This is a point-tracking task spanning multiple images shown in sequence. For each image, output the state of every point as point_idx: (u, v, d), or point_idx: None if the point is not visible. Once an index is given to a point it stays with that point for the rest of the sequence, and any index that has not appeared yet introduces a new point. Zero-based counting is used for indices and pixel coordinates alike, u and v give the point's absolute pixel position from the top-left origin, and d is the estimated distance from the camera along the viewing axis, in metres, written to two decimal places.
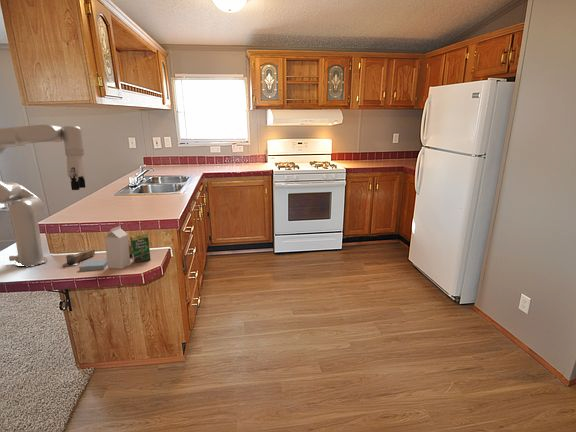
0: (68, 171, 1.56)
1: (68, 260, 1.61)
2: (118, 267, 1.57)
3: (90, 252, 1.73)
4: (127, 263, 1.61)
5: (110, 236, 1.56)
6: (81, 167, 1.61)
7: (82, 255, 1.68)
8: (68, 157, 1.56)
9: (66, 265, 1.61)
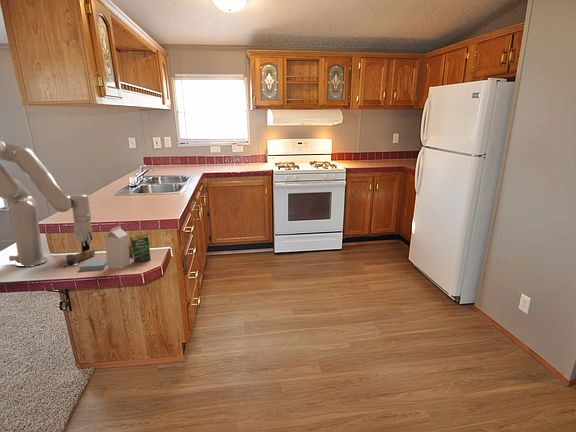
0: (84, 236, 1.70)
1: (68, 260, 1.61)
2: (118, 267, 1.57)
3: (90, 252, 1.73)
4: (127, 263, 1.61)
5: (110, 236, 1.56)
6: None
7: (82, 255, 1.68)
8: (84, 224, 1.69)
9: (66, 265, 1.61)
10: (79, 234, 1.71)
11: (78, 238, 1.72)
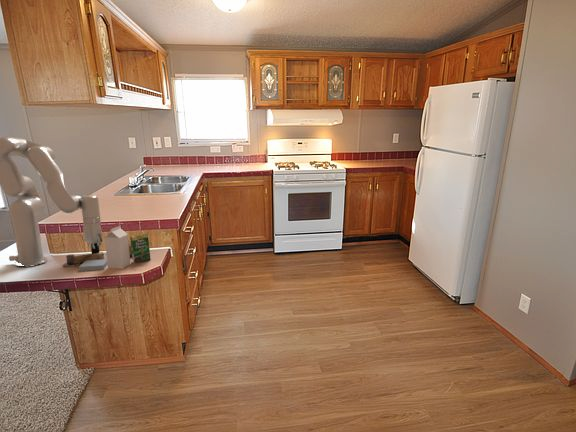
0: (94, 238, 1.65)
1: None
2: (118, 267, 1.57)
3: (97, 255, 1.68)
4: (127, 263, 1.61)
5: (110, 236, 1.56)
6: None
7: (84, 257, 1.65)
8: (93, 225, 1.65)
9: (66, 265, 1.61)
10: (89, 236, 1.66)
11: (88, 240, 1.68)
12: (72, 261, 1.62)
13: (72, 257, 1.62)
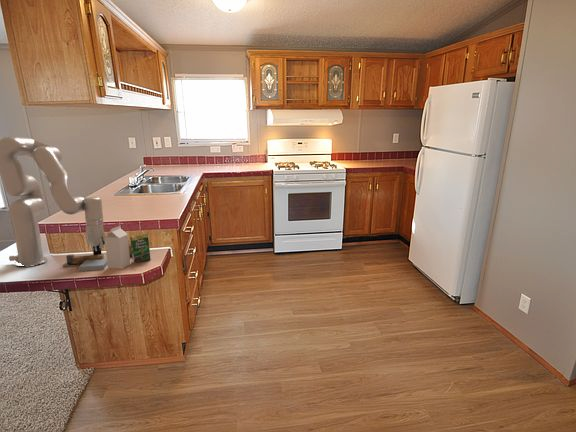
0: (97, 241, 1.63)
1: None
2: (118, 267, 1.57)
3: (95, 257, 1.64)
4: (127, 263, 1.61)
5: (110, 236, 1.56)
6: None
7: (83, 258, 1.63)
8: (96, 228, 1.62)
9: (66, 265, 1.61)
10: (91, 238, 1.64)
11: (90, 243, 1.65)
12: (71, 261, 1.61)
13: (71, 257, 1.61)
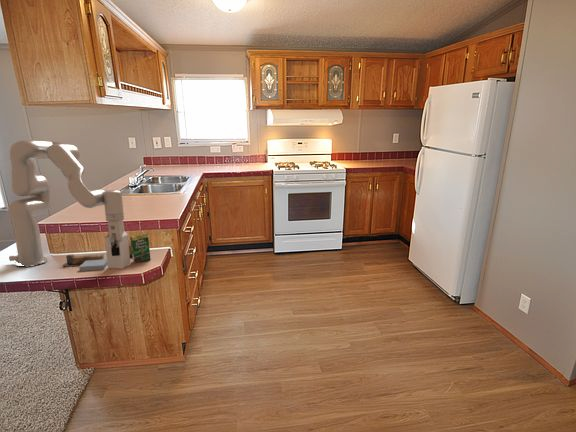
0: None
1: None
2: (118, 267, 1.57)
3: (95, 257, 1.64)
4: (127, 263, 1.61)
5: None
6: None
7: (83, 258, 1.63)
8: None
9: (66, 265, 1.61)
10: (123, 232, 1.59)
11: None
12: (71, 261, 1.61)
13: (71, 257, 1.61)
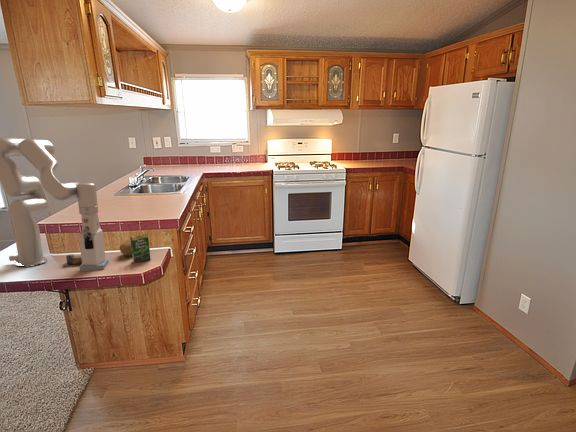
0: None
1: None
2: (93, 263, 1.56)
3: None
4: (102, 259, 1.60)
5: None
6: None
7: None
8: None
9: (66, 265, 1.61)
10: (97, 225, 1.58)
11: None
12: (71, 261, 1.61)
13: (71, 257, 1.61)
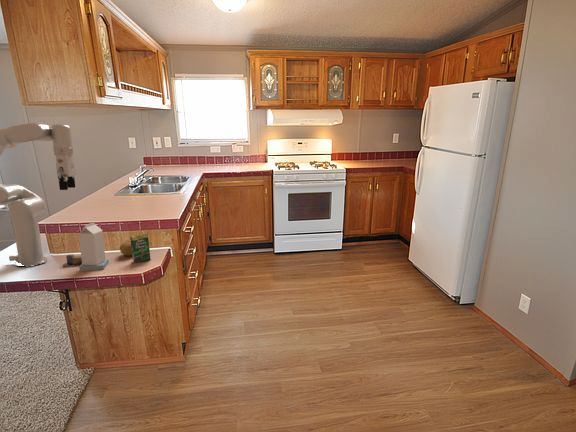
0: None
1: None
2: (93, 263, 1.56)
3: None
4: (102, 259, 1.60)
5: (84, 232, 1.54)
6: None
7: None
8: None
9: (66, 265, 1.61)
10: (73, 168, 1.60)
11: (72, 173, 1.59)
12: (71, 261, 1.61)
13: (71, 257, 1.61)
